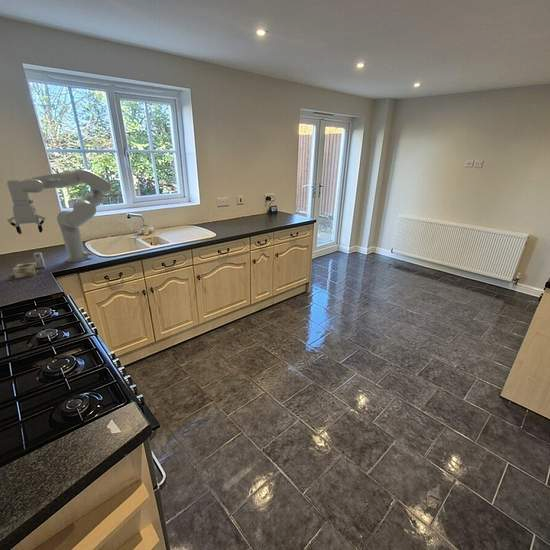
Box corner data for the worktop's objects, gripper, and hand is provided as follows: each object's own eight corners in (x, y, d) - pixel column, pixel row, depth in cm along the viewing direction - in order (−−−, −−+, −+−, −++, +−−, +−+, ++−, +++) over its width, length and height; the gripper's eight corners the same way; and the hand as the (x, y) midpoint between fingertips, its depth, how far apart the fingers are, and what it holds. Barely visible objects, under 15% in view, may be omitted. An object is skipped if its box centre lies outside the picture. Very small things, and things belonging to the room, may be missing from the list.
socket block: (46, 269, 179) (44, 261, 177) (43, 274, 171) (41, 265, 169) (19, 272, 173) (17, 264, 172) (15, 277, 166) (12, 269, 164)
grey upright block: (45, 265, 185) (41, 251, 182) (44, 268, 180) (39, 254, 177) (39, 266, 184) (34, 252, 180) (37, 269, 179) (32, 254, 175)
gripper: (42, 201, 174) (49, 230, 181) (4, 203, 167) (13, 233, 173) (39, 202, 168) (47, 232, 174) (0, 204, 161) (10, 235, 167)
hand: (30, 232), depth 174 cm, fingers open, 9 cm apart
